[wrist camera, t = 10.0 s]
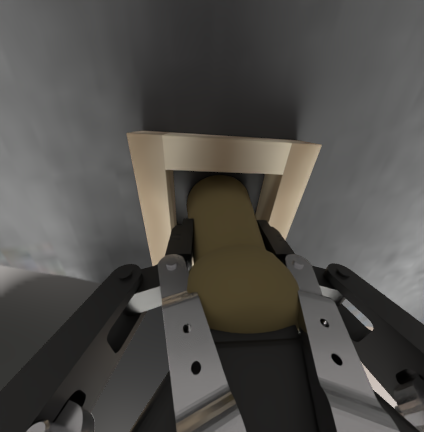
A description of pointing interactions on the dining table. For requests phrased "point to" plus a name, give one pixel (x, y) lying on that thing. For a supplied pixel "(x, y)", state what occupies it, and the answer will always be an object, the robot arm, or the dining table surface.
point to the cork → (236, 263)
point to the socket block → (217, 162)
